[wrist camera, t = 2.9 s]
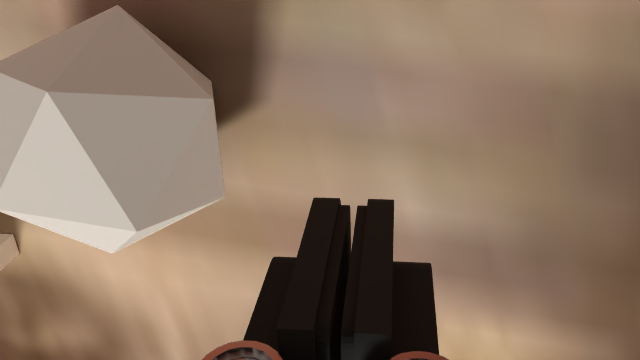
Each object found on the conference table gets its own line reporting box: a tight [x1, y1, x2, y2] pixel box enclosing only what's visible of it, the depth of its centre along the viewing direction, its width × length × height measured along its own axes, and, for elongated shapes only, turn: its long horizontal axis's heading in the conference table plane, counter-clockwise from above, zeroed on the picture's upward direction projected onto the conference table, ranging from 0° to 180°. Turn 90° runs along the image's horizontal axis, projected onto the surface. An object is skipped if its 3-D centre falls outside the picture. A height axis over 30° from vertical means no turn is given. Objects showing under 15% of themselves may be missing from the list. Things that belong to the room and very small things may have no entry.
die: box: [0, 5, 225, 254], centre depth 21 cm, size 8×9×10 cm
